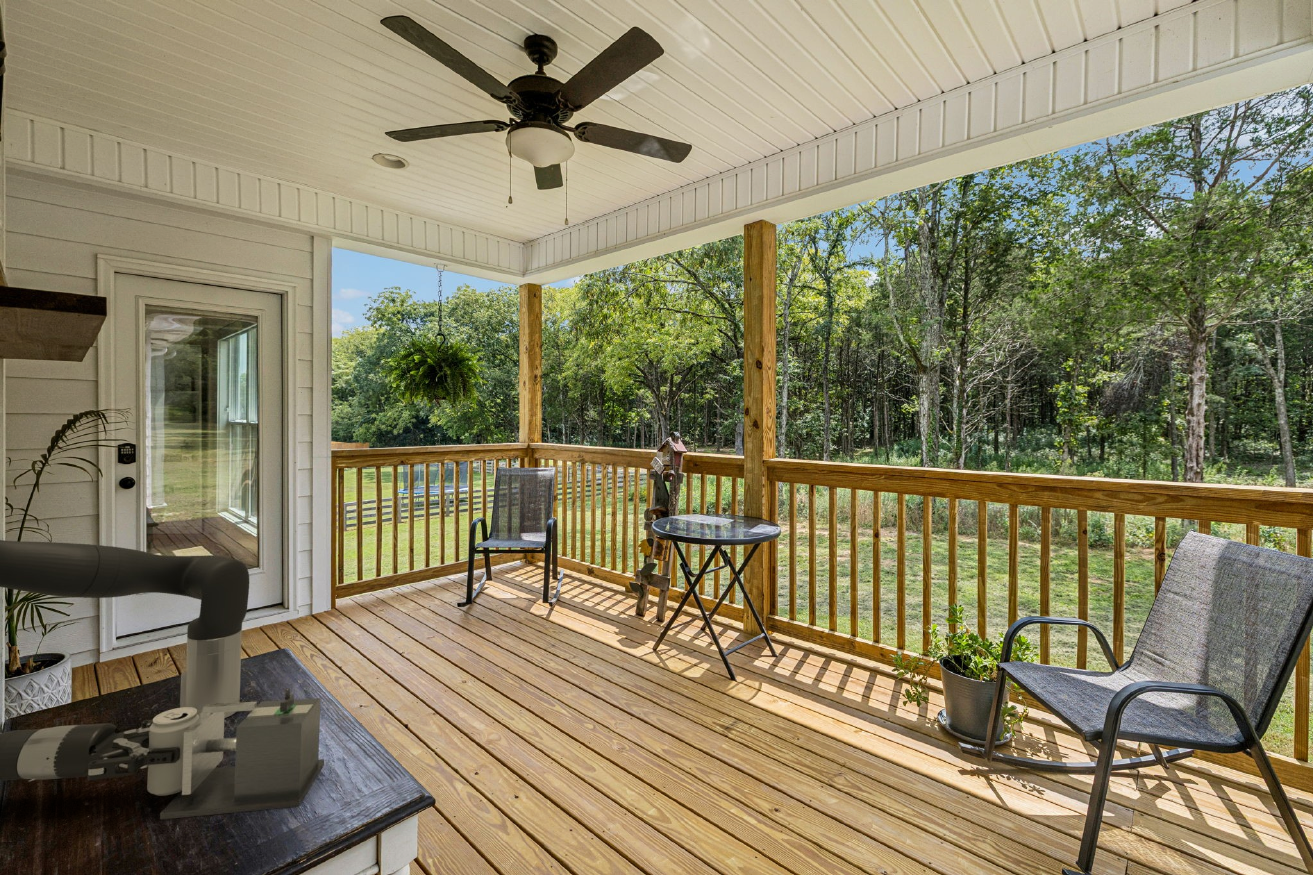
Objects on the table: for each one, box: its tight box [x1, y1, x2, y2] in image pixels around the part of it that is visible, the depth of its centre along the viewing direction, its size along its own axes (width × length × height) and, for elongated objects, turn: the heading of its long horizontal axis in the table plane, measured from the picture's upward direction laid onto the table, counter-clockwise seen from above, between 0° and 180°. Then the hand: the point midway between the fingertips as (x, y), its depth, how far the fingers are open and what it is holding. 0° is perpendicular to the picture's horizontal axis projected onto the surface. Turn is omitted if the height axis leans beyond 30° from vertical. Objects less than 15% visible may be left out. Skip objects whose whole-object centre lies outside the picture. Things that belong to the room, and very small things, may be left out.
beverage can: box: [146, 707, 200, 797], centre depth 96 cm, size 6×6×12 cm
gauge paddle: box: [182, 701, 258, 795], centre depth 97 cm, size 9×10×12 cm
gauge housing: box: [159, 697, 325, 821], centre depth 98 cm, size 20×12×13 cm, turn 103°
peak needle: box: [280, 687, 295, 712], centre depth 99 cm, size 1×3×3 cm, turn 13°
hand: (190, 743), depth 96 cm, fingers closed on beverage can, 6 cm apart
